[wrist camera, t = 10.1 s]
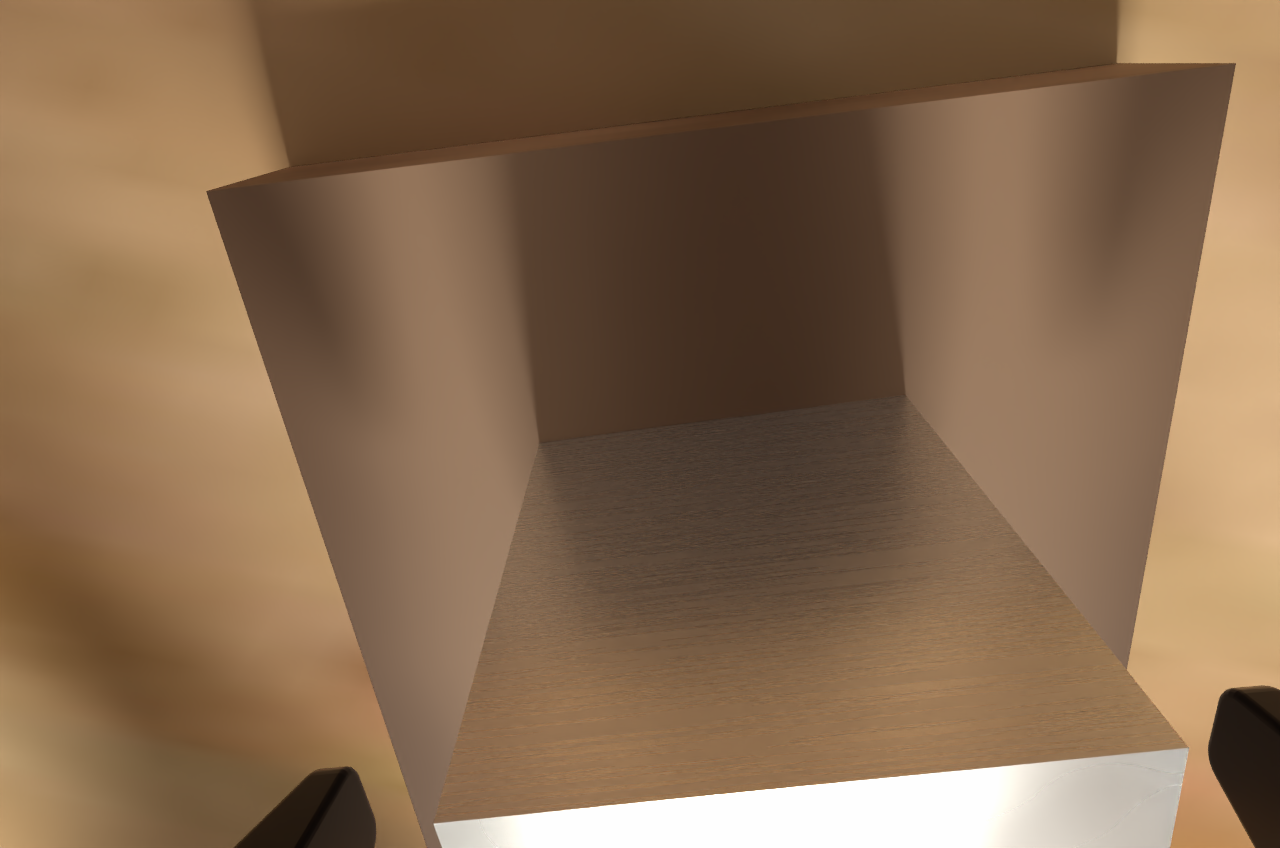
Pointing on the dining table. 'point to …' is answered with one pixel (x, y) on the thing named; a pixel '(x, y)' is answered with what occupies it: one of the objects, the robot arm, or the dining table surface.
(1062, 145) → the walnut block
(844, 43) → the dining table surface
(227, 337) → the dining table surface
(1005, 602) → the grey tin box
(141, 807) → the dining table surface
